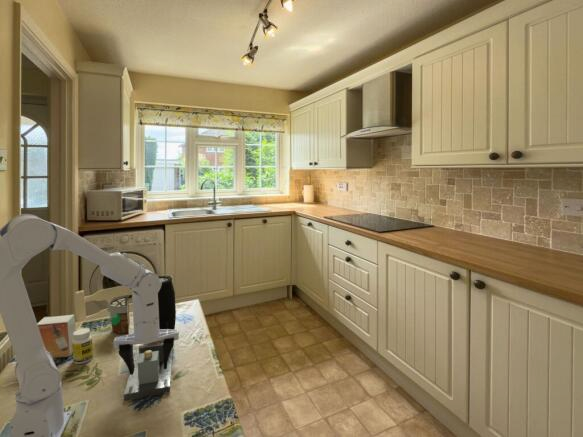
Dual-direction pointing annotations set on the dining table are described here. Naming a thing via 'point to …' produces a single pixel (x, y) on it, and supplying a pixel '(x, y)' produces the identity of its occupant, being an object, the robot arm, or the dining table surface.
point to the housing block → (148, 367)
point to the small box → (58, 334)
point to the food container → (119, 314)
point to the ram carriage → (153, 349)
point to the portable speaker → (166, 304)
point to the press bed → (152, 388)
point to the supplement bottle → (82, 346)
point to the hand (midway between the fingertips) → (149, 369)
